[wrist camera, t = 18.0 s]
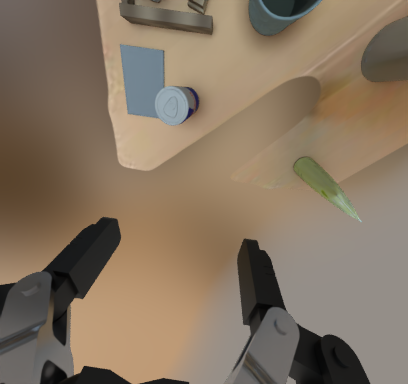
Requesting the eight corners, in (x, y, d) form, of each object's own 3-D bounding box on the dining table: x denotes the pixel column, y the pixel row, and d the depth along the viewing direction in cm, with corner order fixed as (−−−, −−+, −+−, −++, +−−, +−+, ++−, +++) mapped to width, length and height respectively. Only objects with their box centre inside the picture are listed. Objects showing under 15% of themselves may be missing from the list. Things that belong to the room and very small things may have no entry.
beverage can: (179, 116, 40) (160, 128, 28) (172, 90, 37) (148, 90, 25) (201, 112, 39) (192, 122, 27) (196, 84, 37) (184, 82, 24)
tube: (288, 173, 46) (327, 221, 29) (293, 156, 43) (339, 197, 27) (310, 174, 45) (361, 222, 29) (316, 156, 43) (377, 198, 26)
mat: (163, 50, 34) (163, 50, 34) (164, 118, 41) (163, 118, 40) (120, 44, 34) (119, 44, 34) (128, 113, 41) (127, 113, 41)
